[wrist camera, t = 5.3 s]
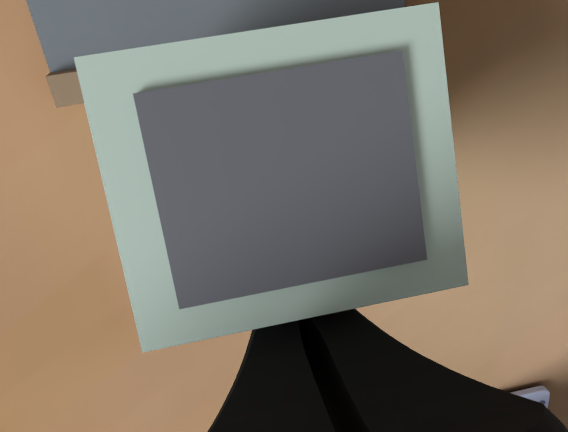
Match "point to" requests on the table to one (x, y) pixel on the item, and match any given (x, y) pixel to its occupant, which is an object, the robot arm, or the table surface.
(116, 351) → the table surface
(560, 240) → the table surface
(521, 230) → the table surface
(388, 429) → the robot arm
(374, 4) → the mat
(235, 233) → the sage block
